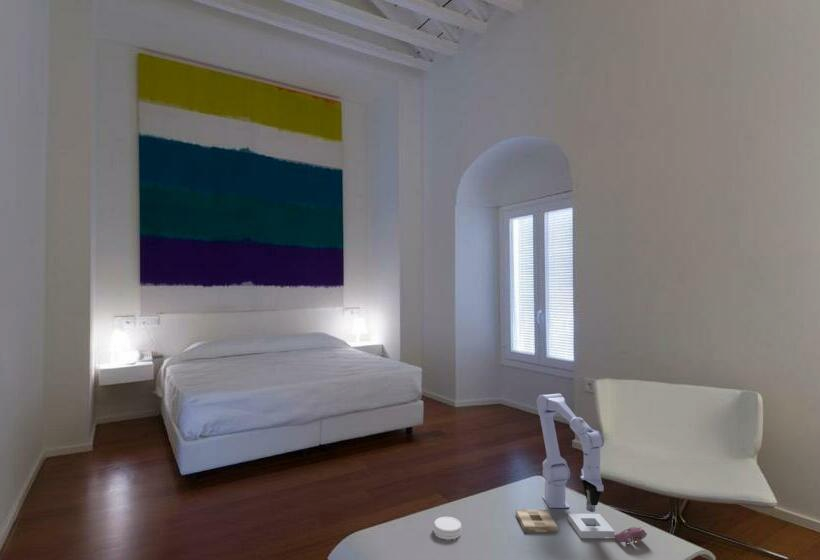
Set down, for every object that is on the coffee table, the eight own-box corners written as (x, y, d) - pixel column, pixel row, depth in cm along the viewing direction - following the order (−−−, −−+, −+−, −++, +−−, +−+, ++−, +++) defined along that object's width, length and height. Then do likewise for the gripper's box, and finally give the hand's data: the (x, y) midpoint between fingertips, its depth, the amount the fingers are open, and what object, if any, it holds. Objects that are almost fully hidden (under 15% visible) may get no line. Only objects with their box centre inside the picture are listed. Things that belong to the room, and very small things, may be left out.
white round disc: (460, 542, 152) (460, 532, 152) (431, 538, 154) (431, 528, 154) (462, 527, 162) (462, 517, 162) (435, 524, 164) (435, 514, 164)
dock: (568, 520, 167) (568, 513, 167) (599, 520, 167) (599, 513, 167) (581, 538, 155) (581, 531, 155) (614, 538, 155) (614, 531, 155)
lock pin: (583, 507, 163) (584, 488, 163) (593, 507, 163) (594, 488, 163) (587, 512, 159) (588, 492, 159) (597, 512, 159) (598, 493, 159)
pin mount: (515, 514, 170) (515, 509, 170) (546, 514, 171) (546, 509, 171) (524, 532, 158) (524, 526, 158) (557, 532, 159) (557, 526, 159)
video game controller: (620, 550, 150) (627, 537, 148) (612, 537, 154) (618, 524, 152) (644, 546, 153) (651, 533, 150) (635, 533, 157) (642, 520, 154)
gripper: (573, 457, 169) (573, 492, 168) (589, 473, 154) (589, 512, 154) (591, 457, 169) (591, 492, 168) (609, 473, 154) (609, 512, 154)
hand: (591, 502), depth 161 cm, fingers closed on lock pin, 3 cm apart
